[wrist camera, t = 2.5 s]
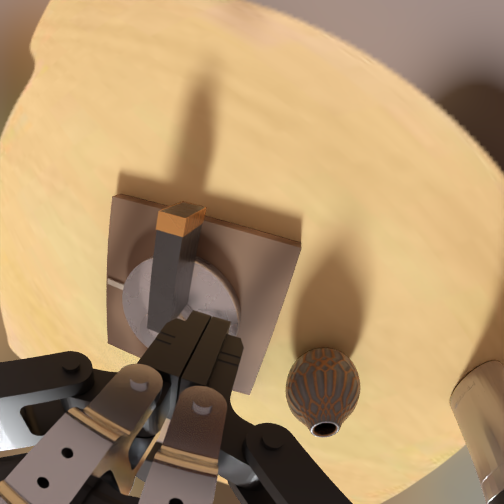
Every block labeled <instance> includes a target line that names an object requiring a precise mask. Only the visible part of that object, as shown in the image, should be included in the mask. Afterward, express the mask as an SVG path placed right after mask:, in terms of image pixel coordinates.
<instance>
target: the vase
mask: <svg viewBox="0 0 504 504" xmlns="http://www.w3.org/2000/svg"><path fill="white" fill-rule="evenodd" d="M359 394H360V380H359V376H358V372H357V370H356V367H355V366H354V364H353V362H352V361H351V360H350V359H349V358H348V357H347V356H346V355H345V354H343V353H342V352H340V351H338V350H335V349H331V348H318V349H314V350H311V351H309V352H307V353H305V354H303V355H302V356H300V357H299V358H298V359H297V361H296V362H295V363H294V364H293V366H292V368H291V369H290V372H289V374H288V377H287V382H286V398H287V402H288V405H289V408H290V410H291V412H292V413H293V415H294V416H295V417H296V418H297V419H298V420H299V421H300V422H302V423H303V424H304V425H305V426H307V427H308V429H309V430H310V432H311V433H312V434H313V435H314V436H317V437H329V436H332V435H334V434H336V433H337V432H338V431H339V429H340V427H341V425H342V423H343V422H344V421H345V420H346V419H347V418H348V417H349V416H350V414H351V413H352V412H353V410H354V409H355V407H356V405H357V402H358V399H359Z"/></svg>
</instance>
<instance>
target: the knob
mask: <svg viewBox="0 0 504 504" xmlns="http://www.w3.org/2000/svg"><path fill="white" fill-rule="evenodd" d="M206 208H207V207H203V206H200V205H196V204H192V203H188V202H184V201H182V202H180V203H177V204H175V205H172V206H170V207H167V208H165V209H162V210H160V211H158V218H157V224H156V230H157V231H156V239H155V246H154V254H153V256H151V257H149V258H147V259H146V260H145V261H143V262H142V263H141V264H139V265H138V266H137V267H135V268H134V269H133V270H132V272H131V273H130V274H129V276H128V277H127V279H126V282H125V284H124V288H123V295H122V303H123V309H124V313H125V317H126V319H127V321H128V324H129V326H130V327H131V329H132V331H133V332H134V334H135V335H136V336H137V338H138V339H139V340H140V341H141V342H142V343H143V344H144V345H145V346H146V347H147V348H148V347H149V346H150V345H151V343H152V342H153V341H154V340H155V338H156V337H157V335H158V334H159V333H160V331H161V330H162V328H163V327H164V326H165V324H166V323H168V322H170V321H172V320H174V319H175V318H178V319H181V320H184V321H186V320H187V318H188V317H189V315H190V314H191V312H192V311H193V310H195V311H198V312H201V313H204V314H207V315H211V316H214V317H217V318H221V319H224V320H227V321H231V325H230V329H229V333H228V334H229V335H232V336H236V335H237V333H238V330H239V326H240V321H241V311H240V304H239V301H238V298H237V295H236V293H235V291H234V289H233V287H232V285H231V284H230V282H229V281H228V280H227V278H226V277H225V276H224V275H223V274H222V273H221V272H220V271H219V270H218V269H217V268H216V267H214V266H213V265H212V264H210V263H209V262H207V261H206V260H204V259H202V258H200V257H198V256H196V253H197V248H198V243H199V238H200V233H201V228H202V223H203V222H204V217H205V212H206Z"/></svg>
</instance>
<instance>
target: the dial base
mask: <svg viewBox="0 0 504 504" xmlns="http://www.w3.org/2000/svg"><path fill="white" fill-rule="evenodd" d="M167 207H170V206H166V205H162V204H158V203H155V202H151V201H147V200H143V199H139V198H135V197H131V196H127V195H123V194H120V195H116V196H112V205H111V214H110V225H109V238H108V255H107V332H108V343H109V344H111V345H113V346H115V347H117V348H119V349H122V350H124V351H126V352H128V353H131V354H133V355H135V356H137V357H140V358H141V357H142V356H143V354H144V353H145V352H146V350H147V349H148V348H147V347H146V346H145V345H144V344H143V343H142V342H141V341H140V340H139V339H138V338H137V336H136V335H135V334H134V332H133V331H132V329H131V327H130V326H129V324H128V321H127V319H126V317H125V313H124V309H123V303H122V295H123V288H124V284H125V282H126V279H127V277H128V276H129V274H130V273H131V272H132V270H133V269H134V268H135V267H137V266H138V265H139V264H141V263H142V262H143V261H145V260H146V259H147V258H149V257H151V256H153V254H154V246H155V239H156V231H157V230H156V224H157V218H158V211H160V210H162V209H165V208H167ZM300 251H301V243H300V242H297V241H293V240H290V239H286V238H283V237H279V236H276V235H272V234H269V233H265V232H262V231H258V230H255V229H251V228H247V227H244V226H240V225H237V224H233V223H229V222H226V221H222V220H218V219H215V218H211V217H207V216H205V217H204V222H203V223H202V228H201V233H200V238H199V243H198V248H197V253H196V256H198V257H200V258H202V259H204V260H206V261H207V262H209V263H210V264H212V265H213V266H214V267H216V268H217V269H218V270H219V271H220V272H221V273H222V274H223V275H224V276H225V277H226V278H227V280H228V281H229V282H230V284H231V285H232V287H233V289H234V291H235V293H236V295H237V298H238V301H239V304H240V311H241V321H240V326H239V330H238V333H237V335H236V337H239V338H241V340H242V343H243V347H244V349H243V353H242V357H241V360H240V364H239V367H238V371H237V375H236V378H235V382H234V385H233V389H232V390H233V391H236V392H240V393H244V394H247V395H250V393H251V390H252V388H253V385H254V382H255V380H256V377H257V374H258V372H259V369H260V367H261V364H262V361H263V358H264V356H265V353H266V350H267V348H268V345H269V342H270V339H271V337H272V334H273V331H274V328H275V325H276V323H277V320H278V317H279V314H280V311H281V308H282V305H283V302H284V299H285V297H286V294H287V291H288V288H289V285H290V282H291V279H292V276H293V273H294V270H295V266H296V263H297V260H298V257H299V254H300Z"/></svg>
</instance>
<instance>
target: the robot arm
mask: <svg viewBox="0 0 504 504" xmlns="http://www.w3.org/2000/svg"><path fill="white" fill-rule="evenodd" d="M230 325H231V321H227V320H224V319H221V318H217V317H214V316H211V315H207V314H204V313H201V312H198V311H195V310H193V311H192V312H191V314H190V315H189V317H188V318H187V320H186V321H184V320H181V319H178V318H175V319H174V320H172V321H170V322H168V323H166V324H165V326H164V327H163V328H162V330H161V331H160V333H159V334H158V335H157V337H156V338H155V340H154V341H153V342H152V343H151V345H150V346H149V347H148V349H147V350H146V352H145V353H144V354H143V356H142V357H141V359H140V360H139V361H138V363H137V364H131V365H127V366H125V367H123V368H122V369H121V370H120V371H119V372H108V371H103V370H97V369H93V367H92V363H91V361H90V360H89V358H88V357H86V356H85V355H83V354H81V353H79V352H74V351H67V352H61V353H56V354H50V355H44V356H39V357H33V358H27V359H20V360H14V361H8V362H0V451H3V450H10V449H17V448H23V447H28V446H34V445H35V446H34V447H33V448H32V450H31V451H30V452H29V453H24V454H19V455H13V456H7V457H2V458H0V504H213V499H214V494H215V488H216V482H217V476H218V475H220V476H221V477H223V478H225V479H227V480H228V484H229V485H230V487H231V489H232V490H233V492H234V493H235V495H236V497H237V498H238V500H239V501H240V503H241V504H352V503H351V502H350V500H349V499H348V498H347V497H346V496H345V495H344V494H343V493H342V492H341V491H340V490H339V489H338V488H337V486H336V485H335V484H334V483H333V482H332V481H331V480H330V479H329V477H328V476H327V475H326V474H325V473H324V472H323V471H322V469H321V468H320V467H319V466H318V465H317V464H316V463H315V461H314V460H313V459H312V458H311V457H310V455H309V454H308V453H307V452H306V451H305V449H304V448H303V447H302V446H301V445H300V443H299V442H298V441H297V440H296V438H295V437H294V436H293V435H292V434H291V433H290V431H288V430H287V429H286V428H284V427H282V426H280V425H277V424H273V423H262V424H258V425H256V426H254V425H253V424H251V423H249V422H247V421H245V420H244V419H242V418H241V417H239V416H238V415H237V414H236V413H235V412H234V410H233V409H232V406H231V403H230V396H231V392H232V389H233V385H234V382H235V378H236V375H237V371H238V367H239V364H240V360H241V357H242V353H243V349H244V347H243V343H242V340H241V338H239V337H236V336H232V335H229V334H228V333H229V329H230ZM48 401H49V402H48ZM450 406H451V409H452V411H453V413H454V416H455V418H456V420H457V423H458V425H459V428H460V430H461V433H462V435H463V437H464V440H465V442H466V445H467V448H468V450H469V453H470V455H471V458H472V461H473V464H474V467H475V469H476V472H477V475H478V478H479V481H480V484H481V487H482V491H483V494H484V497H485V501H486V504H504V366H503V365H502V363H500V362H499V361H489V362H487V363H484V364H482V365H480V366H478V367H477V368H476V369H474V370H473V371H471V372H470V373H469V374H468V375H467V376H466V377H465V378H464V379H463V380H462V381H461V382H460V383H459V384H458V386H457V387H456V388H455V390H454V391H453V393H452V396H451V399H450ZM166 418H167V419H170V420H171V421H170V424H169V426H168V429H167V432H166V435H165V438H164V441H163V444H162V446H161V449H160V450H158V451H157V452H156V454H155V457H154V459H153V462H152V465H151V468H150V471H149V474H148V476H147V479H146V482H145V485H144V488H143V491H142V494H141V497H140V498H138V497H132V496H128V495H129V493H130V491H131V489H132V487H133V484H134V480H135V476H136V474H137V472H138V470H139V469H140V467H141V465H142V464H143V462H144V461H145V459H146V457H147V456H148V454H149V452H150V451H151V449H152V447H153V446H154V444H155V442H156V441H157V439H158V437H159V435H160V432H161V428H162V426H163V424H164V422H165V420H166Z"/></svg>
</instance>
